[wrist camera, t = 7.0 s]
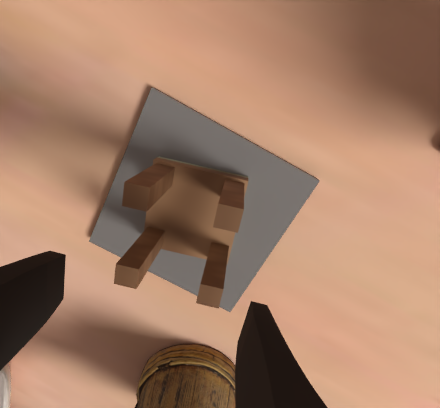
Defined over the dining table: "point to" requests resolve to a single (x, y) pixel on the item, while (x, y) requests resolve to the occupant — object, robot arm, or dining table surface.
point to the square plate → (5, 387)
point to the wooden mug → (187, 379)
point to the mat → (216, 159)
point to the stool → (184, 220)
